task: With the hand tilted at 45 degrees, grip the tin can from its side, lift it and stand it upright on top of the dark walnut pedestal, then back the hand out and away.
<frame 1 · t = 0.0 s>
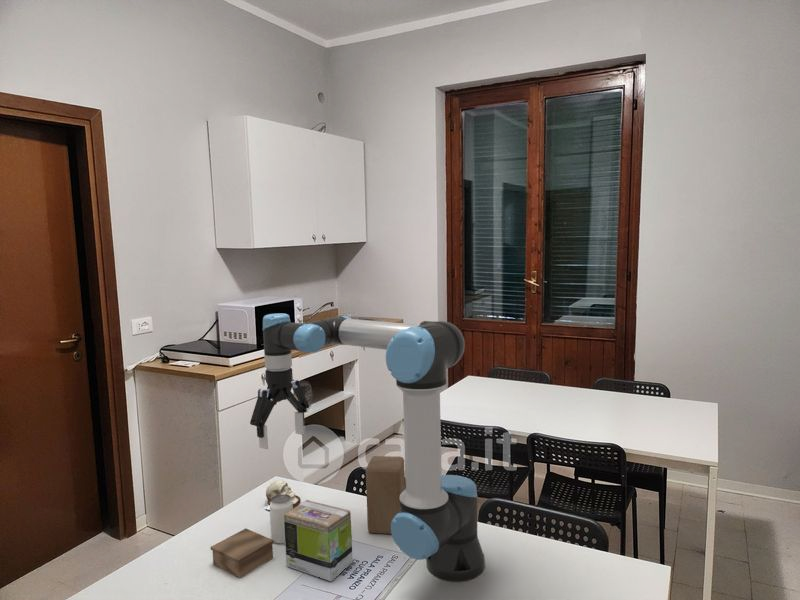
hand: (282, 440, 164), 28 cm above the table, tool pointing down, fingers open, 13 cm apart
tea box: (319, 565, 150), on the table
pedestal: (243, 561, 152), on the table
block: (387, 527, 169), on the table
skull: (281, 504, 186), on the table
can: (282, 539, 164), on the table
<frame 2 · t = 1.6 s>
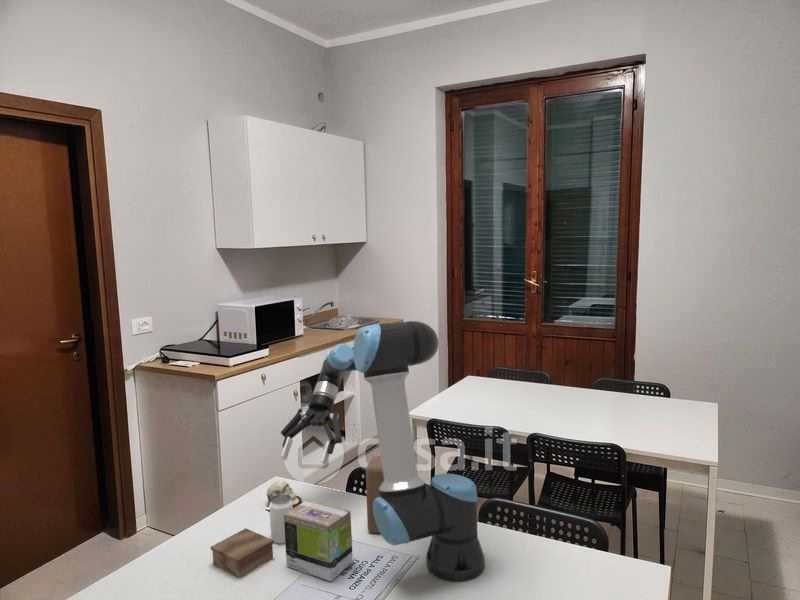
hand: (303, 460, 172), 19 cm above the table, tool tilted 45°, fingers open, 13 cm apart
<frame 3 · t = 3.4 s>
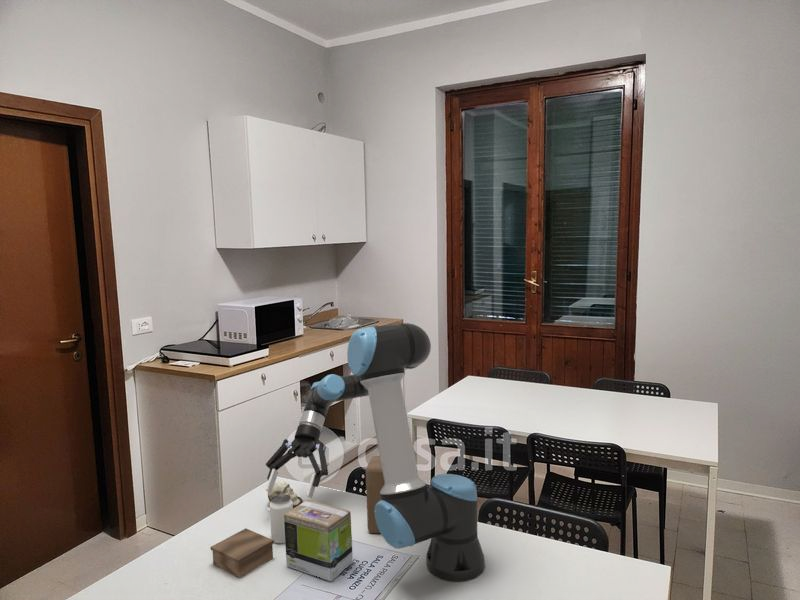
hand: (288, 494, 168), 11 cm above the table, tool tilted 45°, fingers open, 13 cm apart
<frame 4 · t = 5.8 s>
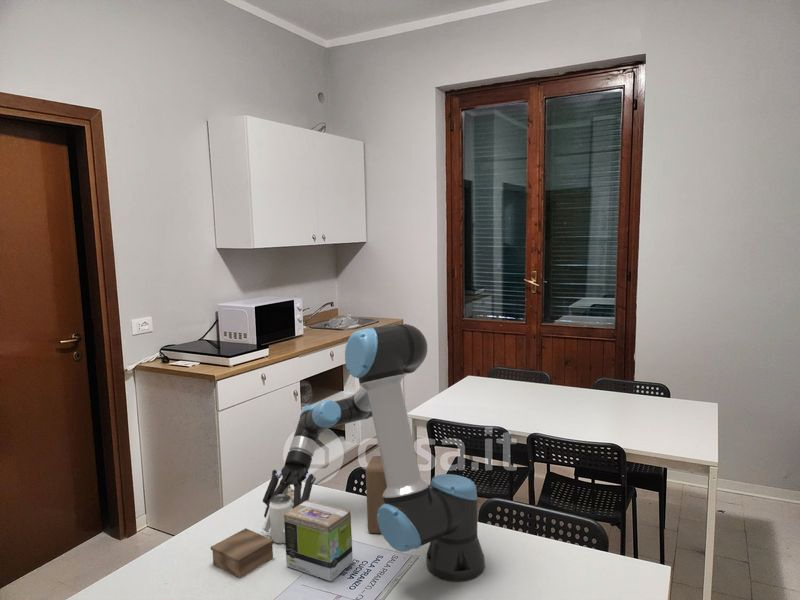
hand: (275, 531, 160), 4 cm above the table, tool tilted 45°, fingers closed on can, 6 cm apart
can: (282, 538, 164), on the table, touching gripper
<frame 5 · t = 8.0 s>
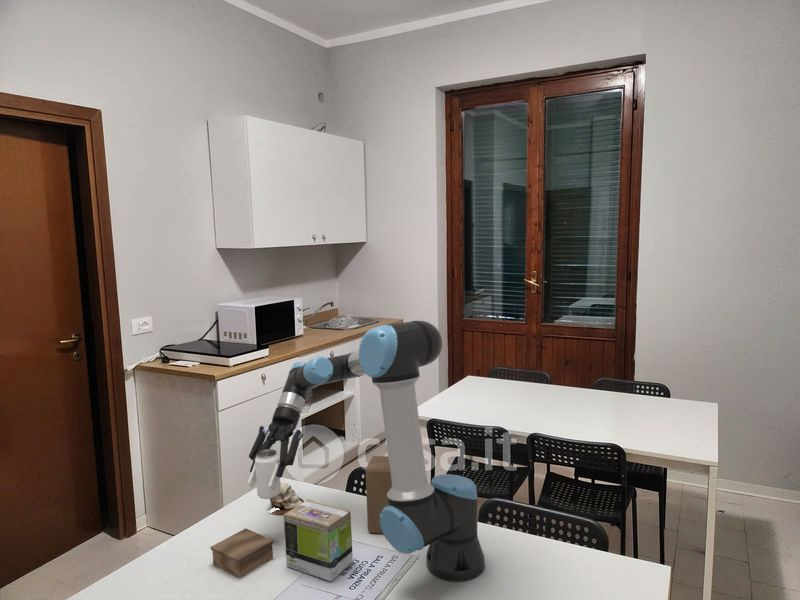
hand: (261, 486, 156), 18 cm above the table, tool tilted 45°, fingers closed on can, 6 cm apart
can: (269, 494, 160), point 14 cm above the table, touching gripper
when the fingers open (10 cm above the table, at t = 10.4 s): can drops 1 cm, resting on pedestal.
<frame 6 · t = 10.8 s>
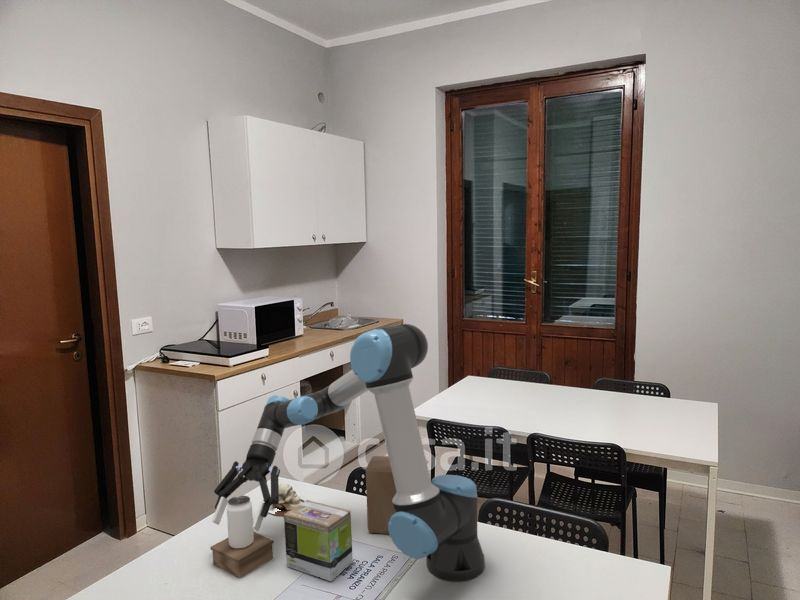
hand: (235, 525, 149), 11 cm above the table, tool tilted 45°, fingers open, 11 cm apart
can: (241, 543, 152), point 5 cm above the table, touching pedestal
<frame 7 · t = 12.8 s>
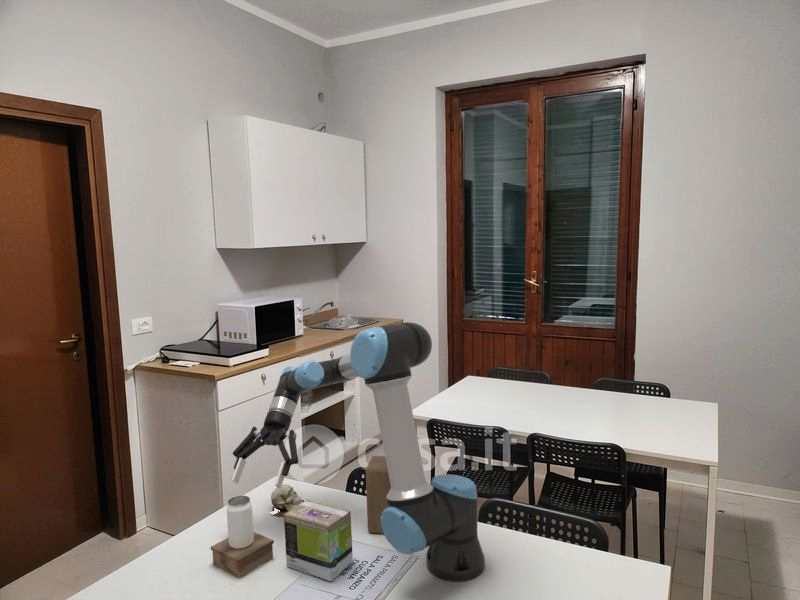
hand: (255, 484, 158), 18 cm above the table, tool tilted 45°, fingers open, 13 cm apart
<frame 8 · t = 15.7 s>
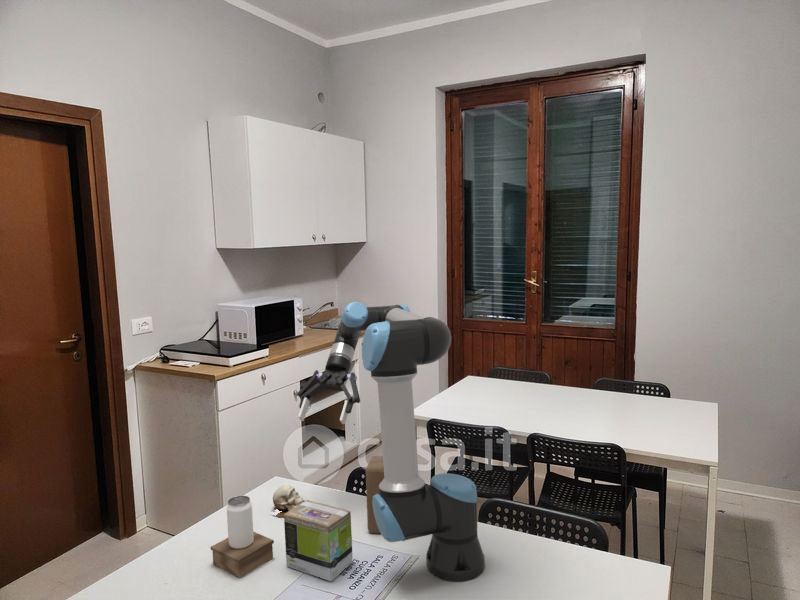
hand: (321, 420, 169), 32 cm above the table, tool tilted 45°, fingers open, 13 cm apart
at the end: can inside the target area on the pedestal (0.4 cm from its centre), point 4.8 cm above the pedestal's base; can tilted 0°; the gripper is holding nothing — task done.
